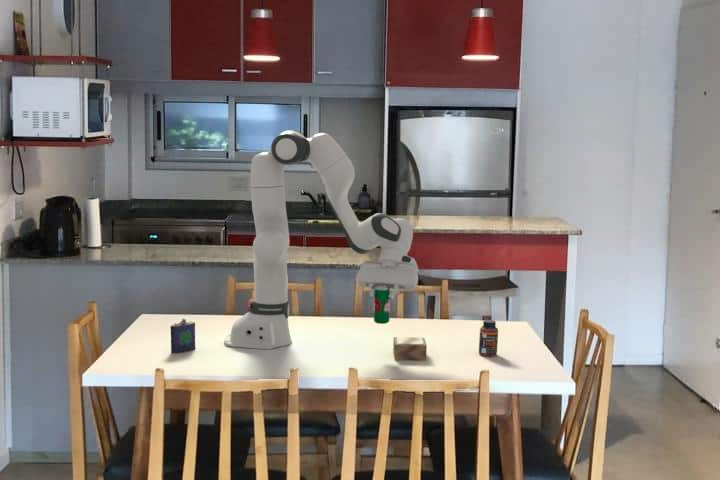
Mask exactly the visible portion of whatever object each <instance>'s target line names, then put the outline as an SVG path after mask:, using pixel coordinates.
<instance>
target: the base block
mask: <svg viewBox="0 0 720 480" xmlns="http://www.w3.org/2000/svg"><path fill="white" fill-rule="evenodd" d="M427 351H428V350H427V343H426V339H425V337H418V336H415V337H412V336H409V337H407V336H394V337H393V346H392V354H393V359H394V361H413V362H414V361H419V362H420V361H421V362H426V361H427Z"/></svg>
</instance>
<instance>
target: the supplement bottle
mask: <svg viewBox="0 0 720 480" xmlns="http://www.w3.org/2000/svg"><path fill="white" fill-rule="evenodd" d="M496 325H497V323H496V321H495V320H493V319H484V320H483V321H482V326H481V327H480V328H479V341H478V342H479V343H478V344H479V345H478V354H479V355H480V356H482V357H495V356H497V354H498V338H499V329H498V328H497V326H496Z"/></svg>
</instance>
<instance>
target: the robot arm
mask: <svg viewBox="0 0 720 480" xmlns="http://www.w3.org/2000/svg"><path fill="white" fill-rule="evenodd" d="M304 161H306V162H308V163H309V164H311V166H312V167H313V169H315V171H316V172H317V173H318V175H319V177H320V179H321V180H322V181H321V182H322V183H323V185H324V188H325V197H326V199H327V201H328V204H329V205H330V207H331V209H332V211H333V213H334V215H335V217H336V219H337V221H338V222H339V224H340V226H341V228H342V230H343V233H344V234H345V238H346V241H347V243H348V246H349V247H350V249H352V250H353V251H354V252H356V253H357V254H360V255H366V254H369V253H370V252H371V251H373V250H374V249H376V248H377V247H380V248H381V251H380V255H379V257H378V260H377V261H371V260H366V261H364V262H362V263H361V264H360V266H359V270H358V272H357V274H356V277H355V280H356V283H357V285H358V286H359V287H362V288H365V287H366V288H369V290H370V292H369V297H370V298H371V299H374V288H375V285H388V286H389V289H390V290H392V291H390V292H389V295H388V298H389V299H390V301H391V300H394V299H395V297H396V296H397V294H399V293H400V291H401V290H402V291H414V290H416V289H417V286H418V284H419V275H418V273H419V266H418V264H417V261H416V259H415V258H414V257H411V256H408V252H410V250H411V247H412V242H413V236H414V231H413V230H414V229H413V225H412V223H410V222H409V221H408V220H407V219H404V218H400V217H397V218H394V217H390V216H389V215H388V214H387V213H383V212H378V213H374V214H373V215H371V216H369V217H368V218H366V219H365V220H363V221H362V222H361V221H360V220H359V219H358V217H357V215H356V214H355V211H354V210H353V208H352V206H351V204H350V202H349V200H348V194H349V191H350V189H351V186H352V185H353V183H354V180H355V176H356V174H355V172H356V170H355V168H354V165H353V162H352V161H351V159H350V158H349V157H348V155H347V154H346V153H345V151H344V150H343V148H342V147H341V146H340V144H338V142H337V141H336V140H335V139H334V138H333V137H332V136H330V134H328V133H325V132H320V133H317V134H316V133H315V134H314V135H313V136H311V137H309V138H308V137H306V136H305V134H303V133H302V132H301V131H298V130H296V129H295V130H294V129H287V130H283V131H281V132H279V133H278V134H277V135H276V136H275V137H274V138H273V140H272V141H271V145H270V150H269V151H264V152H260V153H257V154H256V155H255V156H254V157H253V158H252V160H251V165H250V166H251V167H250V192H251V194H250V195H251V196H250V197H251V208H252V209H251V210H252V214H253V220H254V227H255V237H254V239H253V242H252V243H253V244H252V259H253V262H252V263H253V273H254V274H253V275H254V291H253V292H254V294H253V295H254V299H249V300H248V302H247V305H248V306H247V309H248V312H246V313H245V314H243V315H242V316H241V317H240V318H238V319H237V320H235V322H234V323H233V325H232V328H231V331H230V334H229V335H226V336H225V338H224V341H223V343H224V345H225V346H226V347H230V348H231V347H233V348H245V349H246V348H248V349H249V348H250V349H261V350H272V349H274V348H278V347H285V346H288V345H290V344H292V343H293V340H292V338H291V334H290V333H291V332H290V328H289V327H290V326H289V316H290V305H289V304H290V302H289V300H288V291H289V290H288V285H289V283H288V281H289V280H288V279H289V278H288V277H289V276H288V259H287V258H288V255H287V254H288V249H289V247H290V234H289V233H290V232H289V230H290V229H289V223H288V215H287V205H286V190H285V170H286V167H287V166H292V165H296V164H298V163H302V162H304Z"/></svg>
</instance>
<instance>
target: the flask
mask: <svg viewBox="0 0 720 480" xmlns="http://www.w3.org/2000/svg"><path fill="white" fill-rule="evenodd" d="M194 350H196V322H195V321H188V322H187V319H185V318H181V321H180V322H177V323H174V324H172V325H170V354H173V355H175V354H176V355H177V354H180V353H185V352H191V351H194Z"/></svg>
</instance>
